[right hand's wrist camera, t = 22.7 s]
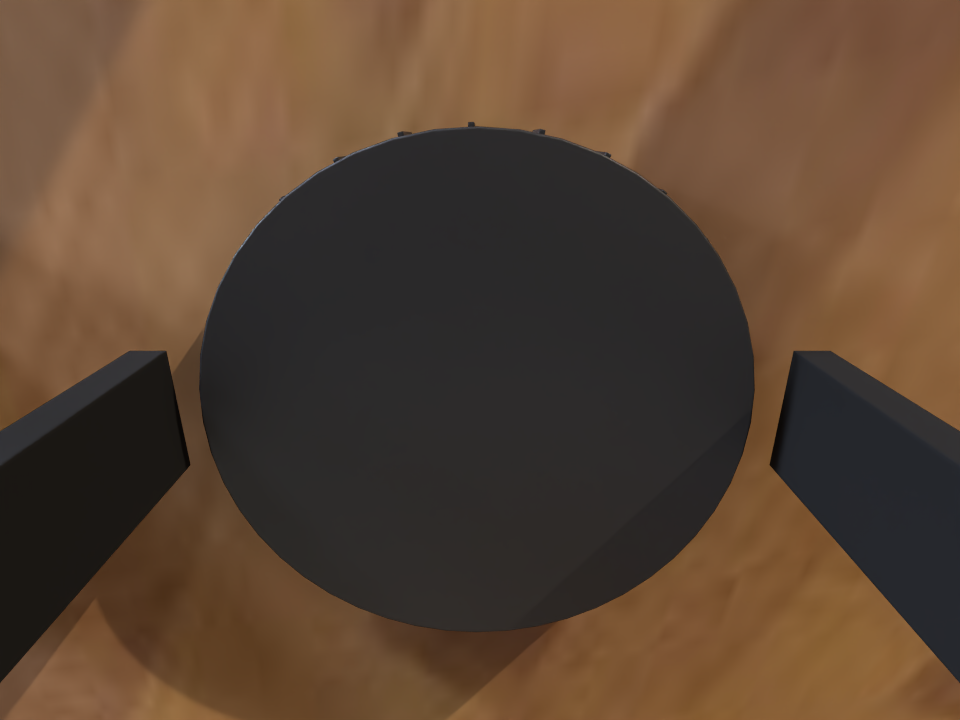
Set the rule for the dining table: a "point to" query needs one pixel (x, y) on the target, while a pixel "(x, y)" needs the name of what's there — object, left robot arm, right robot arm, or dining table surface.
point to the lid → (476, 379)
